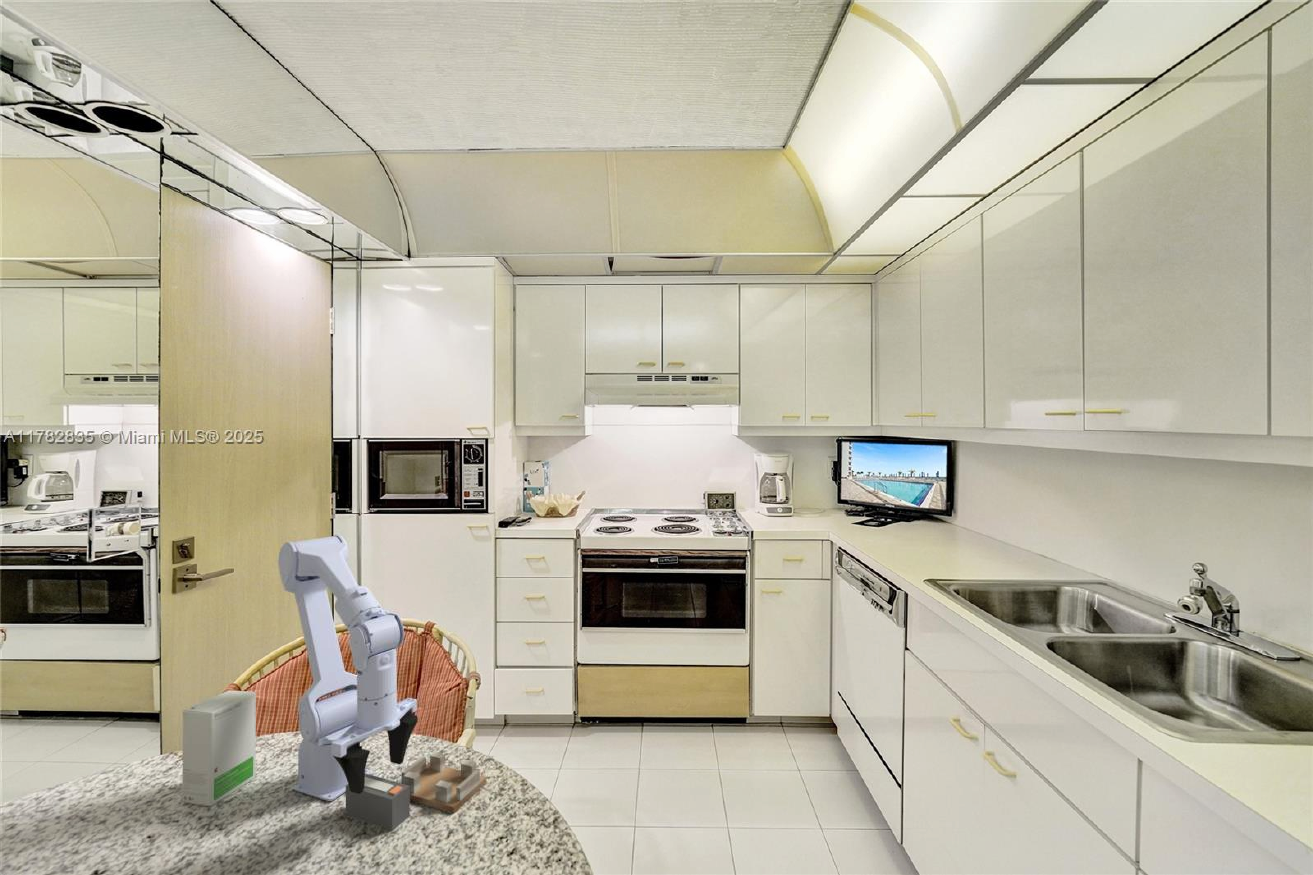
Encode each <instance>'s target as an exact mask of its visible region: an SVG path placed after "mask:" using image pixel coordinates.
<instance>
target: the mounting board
mask: <svg viewBox="0 0 1313 875" xmlns="http://www.w3.org/2000/svg"><path fill="white" fill-rule="evenodd" d="M486 783H487V777H486V776H483V775H481V774H480V770H477V762H476V761H472V760H469V759H465V760H463V761H462V762H460V769H456V768H452V767H449V766H446V754H445V753H441V752H437V751H434V752H433V753H431V754H430V755H429V762H427V757H426V756H422V757H420V758H419V759H418V760H416V761H415V762H413V763H412V764H411V765H410V766H408V767H407V768H406V769H404V770H402V771H401V784H405V785H408V786H410V802H414V803H418V804H422V805H424V806H428V807H431V808H435V809H437V810H441V811H444V812H448V813H451V814H455V813H456V812H457V811H459V809H461V807H462V806H464V805H465V804H466V803H467V802H468V801H469V800H470V799H471V798H472V797H473V796H474V795H475V794H476V793H477V792H479V790H481V788H483V787H484V785H486Z"/></svg>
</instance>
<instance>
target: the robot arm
mask: <svg viewBox="0 0 1313 875" xmlns="http://www.w3.org/2000/svg"><path fill="white" fill-rule="evenodd" d="M348 558H349V546H348V543H347V541H346V539H345V538H344V536H342V535H340V534H334V535H333V536H326V537H318V538H313V539H305V540H298V541H285V542H284V543H283V544H282V546H281V548H280V550H279V554H278V561H277V562H278V570H279V573H280V578H281V579H280V580H281V583H282V586H283V590H284V591H285V592H289V593H291V594H292V593H293V595H294V597H295V601H296V606H297V611H298V614H299V620H300V624H301V630H302V633H303V639H304V644H305V648H306V654H307V657H308V663H309V667H310V672H311V677H312V684H311V685H310V686H309V687H308V688H307V690H306V691H305V692H303V694H302V695H301V697H300V699H299V701H298V705H297V707H298V727H299V732H300V735H301V738H302V739H301V742H300V744H299V747H298V751H297V757H298V758H297V765H298V768H297V770H298V771H297V772H298V773H297V778H298V779H297V780H298V781H297V784H294V786H293V789H292V790H294V791H297V792H300V793H303V794H306V795H307V796H308V795H309V796H311V797H315V798H317V799H321V800H324V801H327V802H332V801H334V800H335V799H337V798H338V797H340V796H341V795H342V794H344V793H346V785H347V784H348V785H349V788H350V792H354V793H357V794H360V793H361V792H363V790H364V784H365V773H366V774H370V775H372V772H371V770H369V769H366V768H367V767H366V766H367V762H368V759H369V755H370V753H371V751H370V750H367V749H364V748H363V745H361V743H363V742H364V741H366V740H368V739H369V738H370V737H371V738H372V737H373V736H375V735H377V734H380V733H382V732H385V731H386V732H387V737H388V745H389V746H388V748H389V750H388V751H389V759H390V763H392V764H396V765H399V766H400V765H401V764H403V763H404V760H405V755H406V751H407V747H408V744H409V741H410V738H411V735H412V733H413V731H414V729H415V727H416V725H417V724H418V722H419V720H418V719H419V718H418V715H415V714H414V713H415V712H416V711H418V705H417V704H418V702H417V701H418V700H417V699H416V698H412V697H407V698H405V699H403V700H401V701H397V700H398V699H397V698H398V693H397V692H398V690H397V689H398V687H397V684H398V682H397V681H398V680H397V679H398V675H397V673H398V672H397V665H398V664H397V657H398V656H397V654H398V653H397V648H399V647H401V646H402V644H403V643H404V639H405V629H404V625H403V624H404V623H403V621H402V619H401V618H400V616H399V614H398V613H396V612H393V611H390V610H389V609H383V607H382V605H381V603H379V601H378V599H377V598H376V597H375V595H374V594H373V592H372V591H371V590H370V588H368V587H367V586H365V585H359V584H358V582H357V580H356V579H355V576H354V574H353V572H352V571H351V568H350V567H349V565H348ZM328 590H329V591H330V592H331V593H332V594H333V596H334V597H335V598H336V601H335V603H334V610H335V612H336V613H337V615H338V616H339V618H340V620H341V621H342V622H343V625H344V627H345V628H346V629H347V631H348V633H349V638H348V644H349V648H350V651H351V655H352V665H353V668H354V669H356V674H354V673H351V672H348V671H346V670H345V665H344V662H343V656H342V653H341V647H340V645H339V644H340V643H339V640H338V634H337V630H336V627H335V626H336V625H335V622H334V618H333V613H332V607H331V603H330V599H329V595H328ZM339 691H340V692H339ZM337 692H339V693H337ZM334 693H336V694H334ZM332 694H333V695H332ZM329 695H330V696H329ZM326 696H328V697H326ZM321 698H323V699H321ZM319 699H320V700H319Z"/></svg>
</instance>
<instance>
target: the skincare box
mask: <svg viewBox="0 0 1313 875" xmlns="http://www.w3.org/2000/svg"><path fill="white" fill-rule="evenodd" d="M256 694H257V692H255V691H244V690H227V691H225V692H223V693H220V694H218V695H215V696H213V697H210V698H207V699H204V700H202V701H201V702H198V703H196V704H195V705H192V706H190V707H188V708H185V709H183V710H182V782H181V783H182V784H181V785H182V789H181V802H182V803H185V804H191V805H198V806H204V807H212V806H214V805H215V804H217V803H218V802H220V801H222V800H223V799H225V798H226V797H227V796H230V795H231V794H232V793H234V792H235V791H237V790H239V789H240V788H242V787H243V786H245V785H247V784H248V783H249V782H251V781H253V780H254V779H256V776H257V774H256V770H257V769H256V765H257V764H256V758H257V756H256V732H257V731H256V730H257V729H256V728H257V727H256V724H257V723H256V718H257V717H256V716H257V715H256V714H257V713H256V712H257V710H256V709H257V706H256V705H257V695H256Z"/></svg>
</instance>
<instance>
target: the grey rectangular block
mask: <svg viewBox="0 0 1313 875" xmlns="http://www.w3.org/2000/svg"><path fill="white" fill-rule="evenodd" d="M401 783H402V782H401ZM401 783H400V782H397V781H395V780H390V779H387V778H383V777H379V776H377V775H372V774H366V773H365V784H364V790H363V792H361V793H360V794H357V793H354V792H350V788H349V785H348V784H347V785H346V792H345V816H346V817H348V818H352V819H354V820H358V821H360V822H364V823H367V824H370V825H373V826H376V827H380V828H382V829H386V830H389V831H392V832H393V831H394V830H395V829H397V828H398V827H399V826H400V825H401V824H403V822H404V821H406V820H407V819H408V818H410V815H411V812H410V811H411V809H410V808H411V807H410V805H411V803H410V802H411V801H410V786H408V785H405V784H401Z"/></svg>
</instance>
